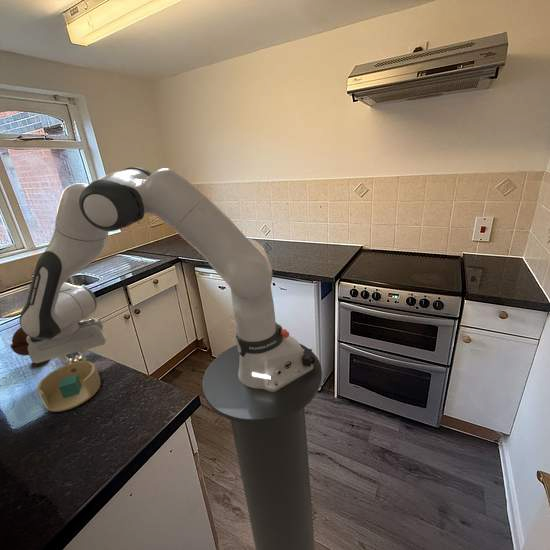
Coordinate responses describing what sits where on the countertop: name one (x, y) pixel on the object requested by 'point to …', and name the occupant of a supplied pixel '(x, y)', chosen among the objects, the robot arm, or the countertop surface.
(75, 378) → the block
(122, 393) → the countertop surface
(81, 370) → the tan scoop with handle
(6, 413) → the countertop surface
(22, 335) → the ice cream bowl
